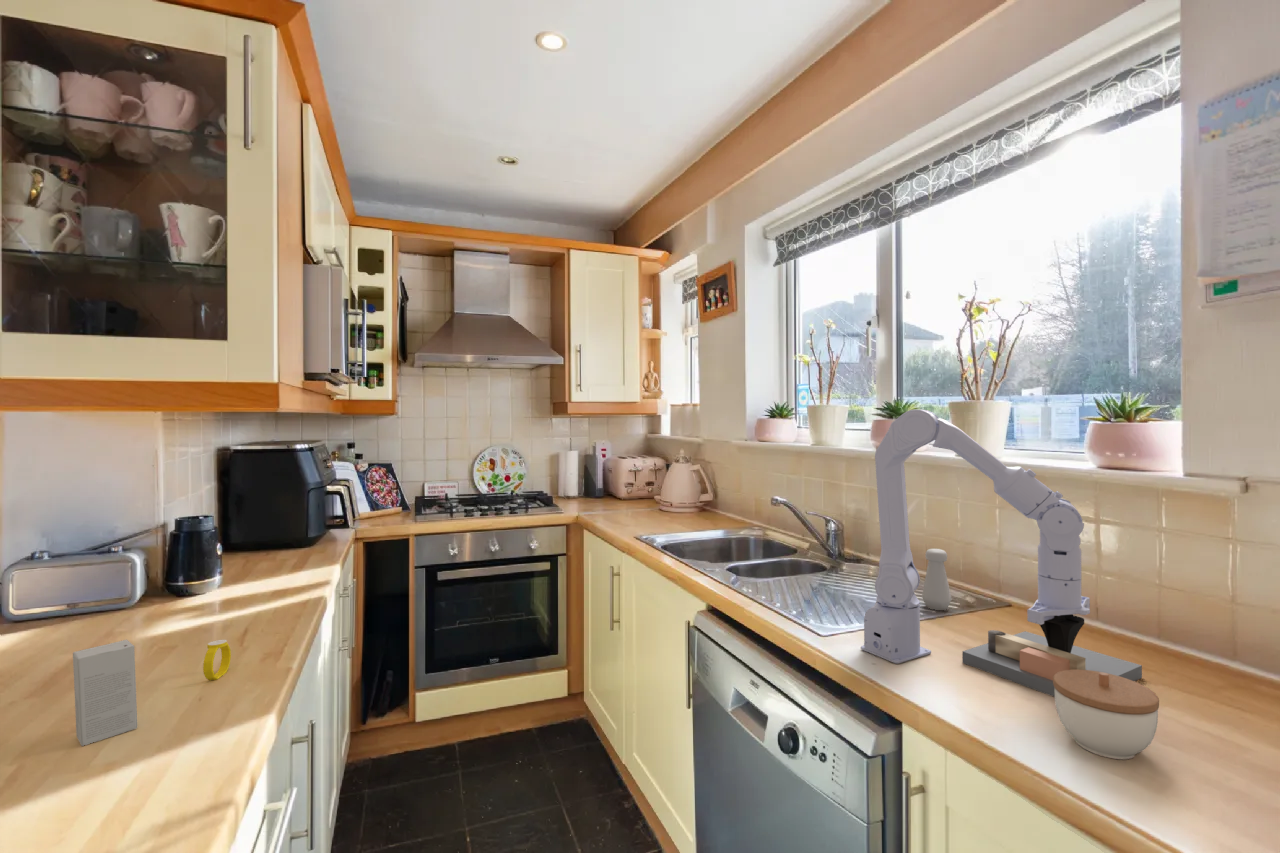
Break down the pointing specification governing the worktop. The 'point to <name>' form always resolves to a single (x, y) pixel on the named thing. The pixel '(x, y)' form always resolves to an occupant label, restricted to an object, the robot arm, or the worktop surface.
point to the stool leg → (1014, 644)
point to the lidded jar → (1106, 712)
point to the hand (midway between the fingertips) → (1059, 660)
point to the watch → (209, 659)
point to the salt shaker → (936, 581)
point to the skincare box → (104, 691)
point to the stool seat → (1044, 664)
